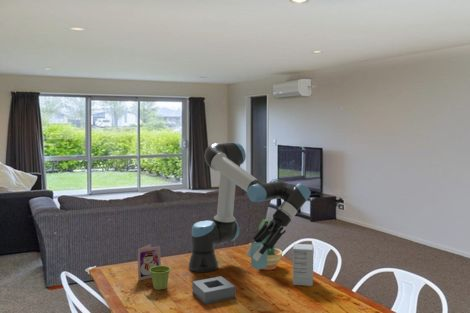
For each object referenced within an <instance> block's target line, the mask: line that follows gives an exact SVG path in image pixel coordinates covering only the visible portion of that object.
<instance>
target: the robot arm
mask: <svg viewBox="0 0 470 313" xmlns="http://www.w3.org/2000/svg"><path fill="white" fill-rule="evenodd" d="M203 156H204V161H205V163H206V165H207V166H209V168H210V169H212V170H213V171H214V172H217V171H218V172H219V184H218V196H217V197H218V199H217V212H216V215H214V216H213V221H212V220H200V221H196V222H195V223H193V225H192V227H191V233H190V234H191V255H190V259H189V262H188V269H189V271H192V272H196V273H210V272H213V271H215V270H218V268H219V262H218V260H217V256H216V253H215V252H216V251H215V246H217V245H222V244H225V243H226V244H227V243H231V242H233V241H235V240H236V239H237V238H238V236H239V234H240V225H239V223H238V221H237V219H236V217H235V216H234V208H235V198H236V197H235V196H236V185H237V186H238V187H239V188H240V189H242V190H243V191H245V193H246V196H247V198H248V200H249V201H250V202H252V203H262V202H266V201H272V200H278V199H281V200H283V202H282V203H281V204H280V205H279V207H278V209H276V210H275V212H274V213H273V214H272V218H273V219H271V221H270V222H267V221H266V222H265V223H264V225H263V227H262V228H261V229H260V230H259V231H257V233H256V234H255V235H254V236H253V238H252V239H253V240H254V242H253V243H256V242H262V241H263V240H264V239H265V238H266V237H267V236H268V235H269V236H268V238H267V239H266V241H265V243H262V244H263V245H264V246H263V245H261V246H260V248H259V249H258V250H257V251H256V253H255V254H254V255H253V258H254V259H255V260H256V261H258V260H259V258H260V257H261V256H262V254H264V252H265V251H266V250H267V249H269V248H270V249H272V248H273V246H274V245H276V244H277V243H278V242H279V240H280V238H281V237H282V236H283V235H284V234H285V233H286V229H285V228H284V227H288V225H289V224H290V223H291V221H292V220H293V219H294V217H295V216H296V214H298V213H299V210H301V208H302V206H304V204H305V203H306V202H307V200H308V199H309V197H310V196H311V194H312V193H311V190H310V189H309V187H308V186H307V185H306V184H303V183H297V184H296V185H295V186H294V185H292V184H289V183H287V182H286V181H283V180H281V179H278V178H272V179H271V180H270V181H269V182H266V183H264V182H262V181H261V180H259V179H257V178H256V177H255V176H254V175H252V174H251V173H249V172H248V171H246V170H245V169H243V168H242V167H241V165H242V164H244V162H245V161H246V156H247V155H246V151H245V148H244V146H243V145H242V144H241V143H238V142H214V143H212V144H210V145H208V146H207V147H206V149H205V151H204V155H203ZM268 229H269V230H270V231H269V230H268ZM245 254H246V255H247V256H248V257H249V258H251V246H250V247H249V248H248V249H247V251H246V252H245Z"/></svg>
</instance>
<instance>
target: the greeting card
mask: <svg viewBox="0 0 470 313" xmlns="http://www.w3.org/2000/svg"><path fill="white" fill-rule="evenodd" d="M161 256H162V255H161V245H156V246H152V243H149V244H147V245H145V246H143V247H140V248H138V249H137V274H138V278H137V279H138V280H139V281H143V280H149V279H152V275H151V272H150V268H152V267H155V266H162V264H161V263H162V262H161V261H162V260H161Z"/></svg>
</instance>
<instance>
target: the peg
mask: <svg viewBox="0 0 470 313" xmlns="http://www.w3.org/2000/svg"><path fill="white" fill-rule="evenodd" d="M262 243H263V242H256V243H254V242H251V243H250V247H251V257H250V266H251V267H252V268H254V269H255V270H256V271H258V270H265V269H264V268H267V250H266V251H265V252H264V254H262V256H261V257H260V258H259V260H258V261H256V260H255V259H254V258H253V255H254V254H255V253H256V251H257V250H258V249H259V248H260V246H261V245H263V244H262ZM263 246H264V245H263Z"/></svg>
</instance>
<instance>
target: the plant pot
mask: <svg viewBox="0 0 470 313" xmlns="http://www.w3.org/2000/svg"><path fill="white" fill-rule="evenodd" d="M170 271H171V267H170V266H167V265H161V266H155V267H152V268H150V272H151V275H152V278H151V280H152V287H153V289H154V290H157V291H161V290H166V289H167V288H168V283H169V282H168V281H169V275H170Z"/></svg>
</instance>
